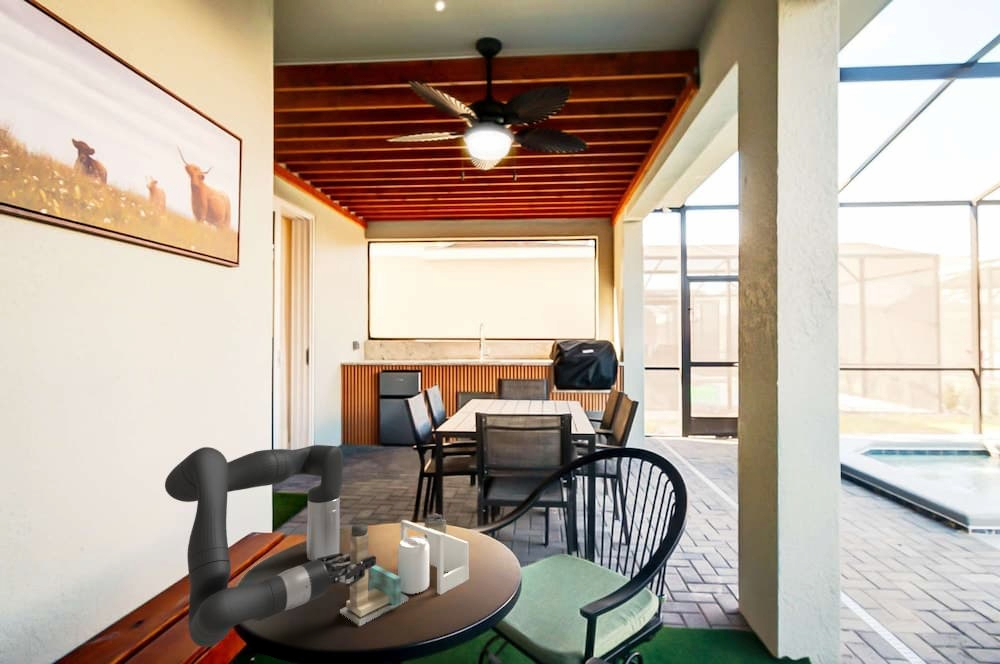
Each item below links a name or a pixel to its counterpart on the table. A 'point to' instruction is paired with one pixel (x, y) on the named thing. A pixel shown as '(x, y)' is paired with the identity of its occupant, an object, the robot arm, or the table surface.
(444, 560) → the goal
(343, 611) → the white flat board
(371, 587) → the kicker rod
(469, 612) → the table surface
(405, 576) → the beverage can
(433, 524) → the lighter
